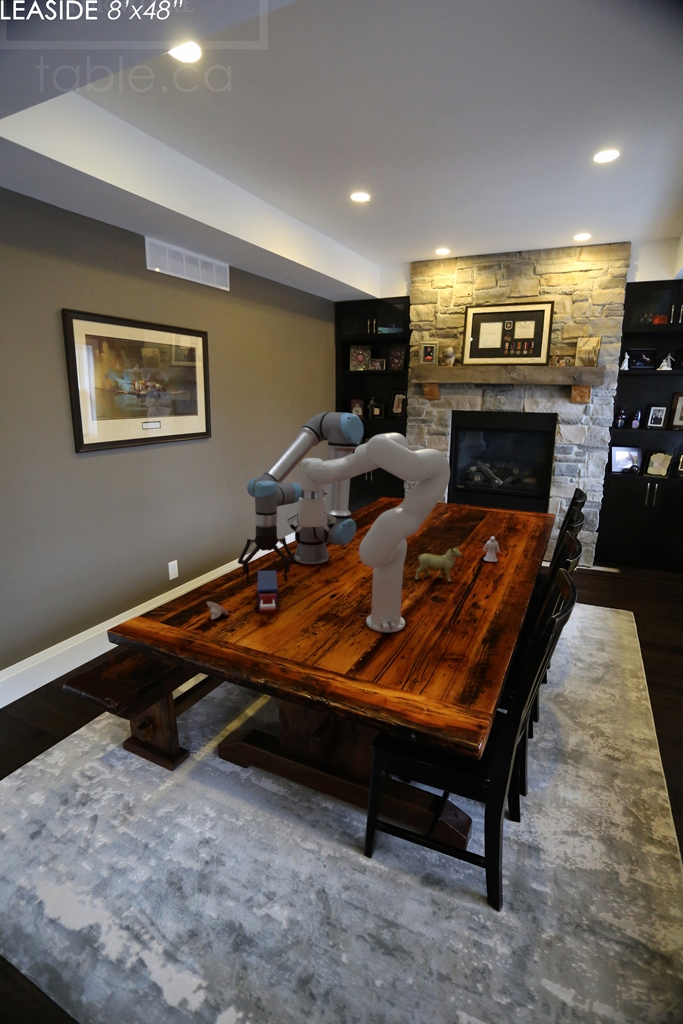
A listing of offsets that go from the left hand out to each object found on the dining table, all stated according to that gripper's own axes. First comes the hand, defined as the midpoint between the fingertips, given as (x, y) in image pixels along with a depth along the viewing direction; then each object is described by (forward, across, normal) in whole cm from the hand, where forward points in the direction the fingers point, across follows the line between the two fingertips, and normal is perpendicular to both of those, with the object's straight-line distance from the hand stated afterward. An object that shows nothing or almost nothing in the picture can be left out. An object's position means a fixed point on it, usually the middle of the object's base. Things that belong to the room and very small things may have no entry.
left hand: (266, 581), depth 182 cm
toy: (+5, -68, -7) cm, 68 cm away
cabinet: (+5, 0, +5) cm, 8 cm away
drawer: (+4, 0, +12) cm, 12 cm away
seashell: (+6, +16, +17) cm, 24 cm away
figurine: (+4, -100, -27) cm, 104 cm away
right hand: (-16, -16, +6) cm, 23 cm away
